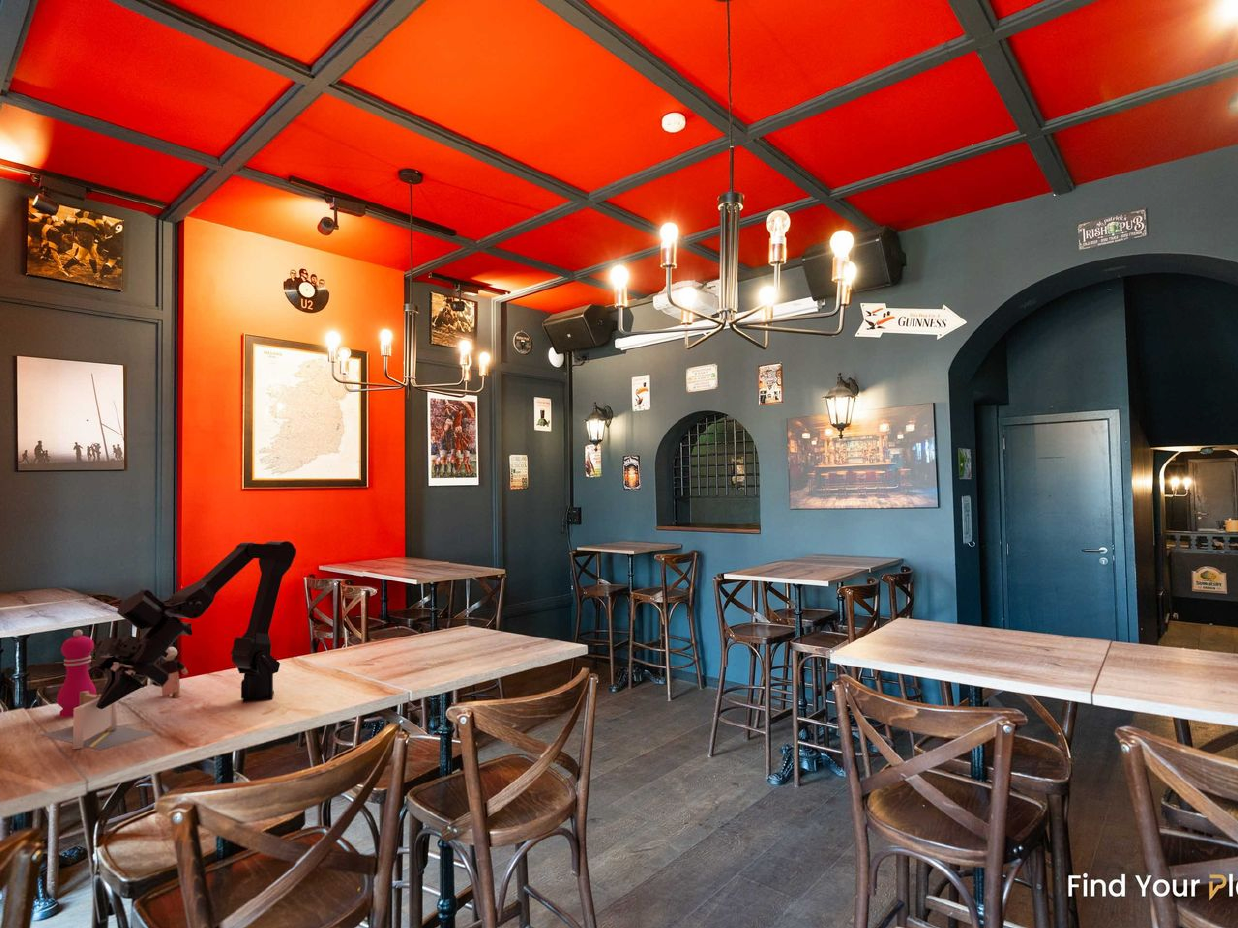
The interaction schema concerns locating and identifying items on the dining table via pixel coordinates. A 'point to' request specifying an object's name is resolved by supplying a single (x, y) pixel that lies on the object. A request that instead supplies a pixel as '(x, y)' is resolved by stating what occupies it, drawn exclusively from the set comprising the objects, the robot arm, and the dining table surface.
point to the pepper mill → (75, 672)
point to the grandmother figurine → (172, 674)
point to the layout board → (104, 737)
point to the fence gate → (92, 721)
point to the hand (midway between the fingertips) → (98, 707)
